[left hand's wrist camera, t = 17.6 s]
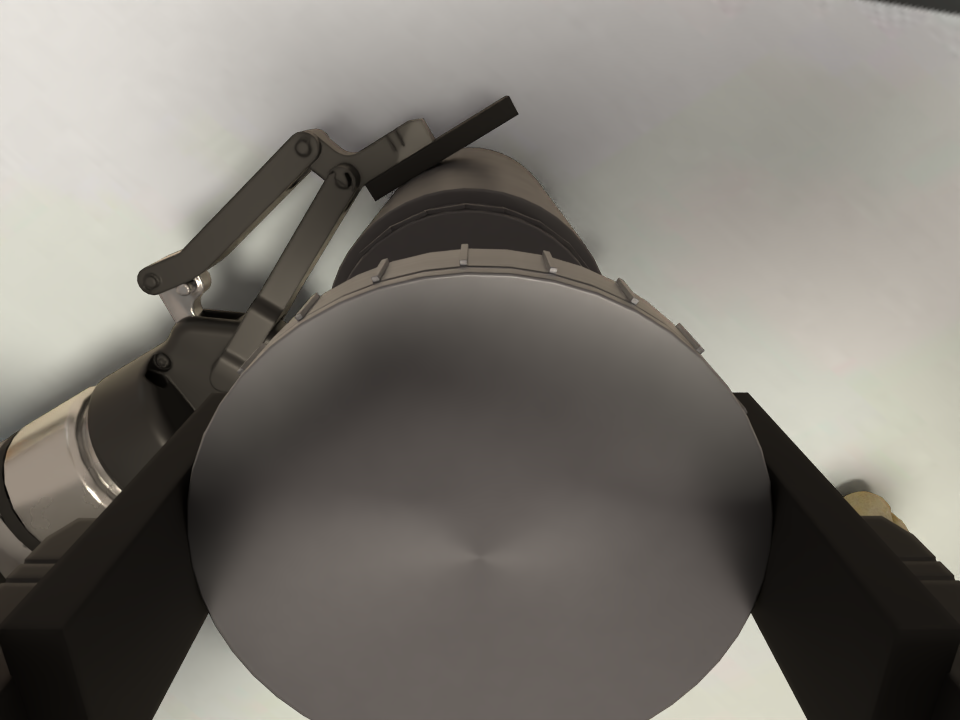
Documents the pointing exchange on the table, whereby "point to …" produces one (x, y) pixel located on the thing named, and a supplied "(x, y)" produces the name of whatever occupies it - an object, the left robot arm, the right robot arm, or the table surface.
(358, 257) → the jar
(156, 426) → the right robot arm
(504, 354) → the lid
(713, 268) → the table surface
